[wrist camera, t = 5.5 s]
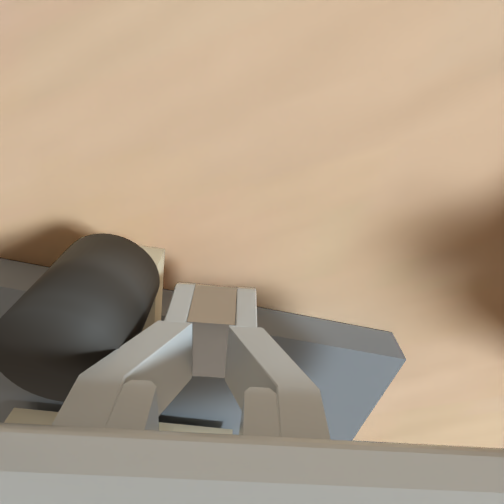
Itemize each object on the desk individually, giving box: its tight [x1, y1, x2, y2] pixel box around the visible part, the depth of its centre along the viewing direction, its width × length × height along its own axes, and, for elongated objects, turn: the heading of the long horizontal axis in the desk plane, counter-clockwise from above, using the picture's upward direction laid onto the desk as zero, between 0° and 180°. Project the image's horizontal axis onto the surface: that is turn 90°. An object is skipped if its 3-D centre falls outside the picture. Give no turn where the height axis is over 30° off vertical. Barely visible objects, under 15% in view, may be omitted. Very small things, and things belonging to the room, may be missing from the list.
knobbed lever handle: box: [0, 234, 233, 434], centre depth 12 cm, size 18×9×4 cm, turn 170°
